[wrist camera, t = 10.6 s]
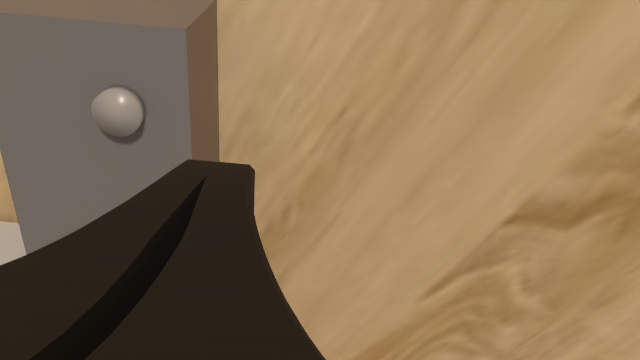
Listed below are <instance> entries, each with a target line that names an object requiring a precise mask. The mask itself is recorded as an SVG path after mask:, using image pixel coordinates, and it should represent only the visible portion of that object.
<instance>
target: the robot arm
mask: <svg viewBox="0 0 640 360" xmlns="http://www.w3.org/2000/svg"><path fill="white" fill-rule="evenodd" d="M254 183H255V170H254V169H253V168H252V167H251V166H250V165H247V164H235V163H224V162H213V161H202V160H191V159H188V160H186V161H185V162H183V163H182V164H180V165H178V166H177V167H176V168H174V169H173V170H171V171H170V172H168V173H167V174H165V175H164V176H163V177H161V178H160V179H158V180H157V181H155V182H154V183H152V184H151V185H149V186H148V187H146V188H145V189H143V190H142V191H140V192H139V193H137V194H136V195H134V196H133V197H132V198H130V199H129V200H127V201H125V202H124V203H122V204H121V205H119V206H117V207H116V208H114V209H112V210H111V211H109V212H107V213H105V214H104V215H102V216H100V217H99V218H97V219H95V220H94V221H92V222H90V223H89V224H87V225H85V226H84V227H82V228H80V229H78V230H76V231H74V232H73V233H71V234H69V235H67V236H65V237H63V238H61V239H59V240H57V241H55V242H53V243H50V244H48V245H46V246H44V247H42V248H40V249H38V250H36V251H34V252H31V253H29V254H27V255H25V256H22V257H20V258H18V259H15V260H13V261H10V262H7V263H5V264H2V265H0V360H326V359H325V358H324V357H323V356H322V354H321V353H320V351H319V350H318V349H317V347H316V346H315V345H314V343H313V342H312V340H311V339H310V338H309V336H308V335H307V333H306V332H305V330H304V329H303V327H302V325H301V324H300V322H299V320H298V319H297V317H296V315H295V314H294V312H293V311H292V309H291V307H290V306H289V304H288V302H287V301H286V299H285V297H284V295H283V293H282V291H281V289H280V287H279V285H278V283H277V281H276V279H275V277H274V274H273V272H272V270H271V267H270V265H269V263H268V260H267V257H266V255H265V252H264V249H263V246H262V243H261V240H260V236H259V233H258V229H257V226H256V221H255V216H254Z"/></svg>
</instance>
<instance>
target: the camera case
mask: <svg viewBox="0 0 640 360" xmlns="http://www.w3.org/2000/svg"><path fill="white" fill-rule="evenodd" d="M0 151H1V155H2V159H3V163H4V167H5V171H6V175H7V179H8V183H9V187H10V191H11V195H12V199H13V203H14V207H15V211H16V215H17V219H18V223H19V227H20V231H21V235H22V239H23V243H24V247H25V251H26V255H27V254H29V253H31V252H34V251H36V250H38V249H40V248H42V247H44V246H46V245H48V244H50V243H53V242H55V241H57V240H59V239H61V238H63V237H65V236H67V235H69V234H71V233H73V232H74V231H76V230H78V229H80V228H82V227H84V226H85V225H87V224H89V223H90V222H92V221H94V220H95V219H97V218H99V217H100V216H102V215H104V214H105V213H107V212H109V211H111V210H112V209H114V208H116V207H117V206H119V205H121V204H122V203H124V202H125V201H127V200H129V199H130V198H132V197H133V196H134V195H136V194H137V193H139V192H140V191H142V190H143V189H145V188H146V187H148V186H149V185H151V184H152V183H154V182H155V181H157V180H158V179H160V178H161V177H163V176H164V175H165V174H167V173H168V172H170V171H171V170H173V169H174V168H176V167H177V166H178V165H180V164H182V163H183V162H185V161H186V160H188V159H191V160H202V161H213V162H219V117H218V58H217V0H0Z"/></svg>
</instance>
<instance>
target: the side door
mask: <svg viewBox="0 0 640 360" xmlns="http://www.w3.org/2000/svg"><path fill="white" fill-rule="evenodd" d="M25 255H26V251H25V247H24V243H23V239H22V235H21V231H20V227H19V223H12V222H3V221H0V265H2V264H5V263H7V262H10V261H13V260H15V259H18V258H20V257H22V256H25Z"/></svg>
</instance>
